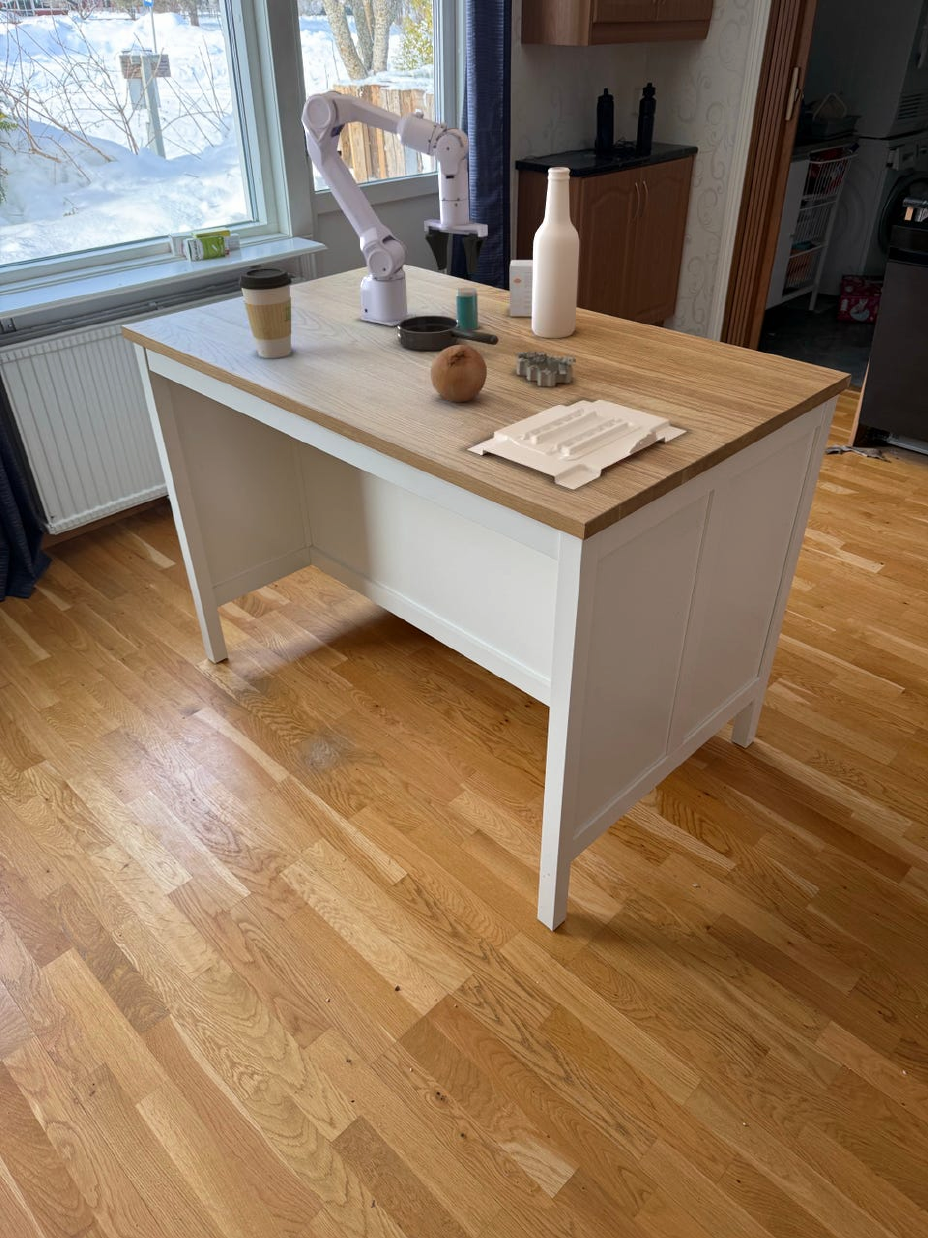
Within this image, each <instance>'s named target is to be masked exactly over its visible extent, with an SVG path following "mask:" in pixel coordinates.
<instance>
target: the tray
mask: <svg viewBox="0 0 928 1238" xmlns="http://www.w3.org/2000/svg"><path fill="white" fill-rule="evenodd" d="M684 433H687V430H684V429H681V428H678V427H674V426H671V425H670V419H667V418H665V417H661V416H657V415H654V414H651V413H648V412H644V411H641V410H638V409H634V408H630V407H627V406H623V405H620V404H617V403H614V402H611V401H608V400H604V399H598V400H596V401H595V400H594V401H593V402H591V401H588V400H584V399H583V400H580V401H577V402H575V403H573V404H571V405H568V406H566V405H562V404H558V405H555V406H553V407H549V408H548V409H545V410H543V411H541V412H539V413H536V414H533V415H530V416H528V417H526V418H524V419H521V420H518V421H517V422H514V423H512V424H509V425H507V426H505V427H502V428H500V429H498V430H496V431H495V430H494V432H493V437H492V438H490V439H488V440H485V441H483V442H481V443H478V444H476V445H474V446H471V447H469V448H467V449H466V450H467V451H470V452H472V453H475V454H477V455H480V456H483V455H485V454H488V453H491V454H493V455H496V456H499V457H503V459H504V458H505V459H506V460H509V461H512V462H515V463H518V464H520V465H523V466H526V467H527V468H528V467H529V468H531V469H534V470H536V471H539V472H542V473H544V474H547V475H550V476H552V477H554V483H555V484H557V485H559V486H562V487H565V488H567V489H570V490H576V489H578V488H580V487H582V486H583V485H586V484H587V483H589V482H591V481H593V480H595V479H598V478H599V477H600V476H601V473H602V470H603V469H605V468H607V467H609V466H611V465H613V464H616V462H619V461H620V460H623V459H624V458H626V457H628V456H631V455H632V454H634V453H636V452H639V451H640V450H643V449H644V448H646V447H648V446H651V445H652V444H654V443H656V442H658V441H660V442H664V443H667V442H670V441H672V440H673V439H675V438H677V437H679V436H681V435H683V434H684Z"/></svg>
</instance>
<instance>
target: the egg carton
mask: <svg viewBox="0 0 928 1238" xmlns="http://www.w3.org/2000/svg"><path fill="white" fill-rule="evenodd" d="M513 354H514V356H515V358H516V359H517V360H516V375H518V376H526V381H530V382H533V381H534V382H535V381H536V382H537V385H538V386H539V387H550V388H551V387H555V386H556V384H558V383H561V384H562V383H563V384H569V383H571V382H572V381H571V380H572V378H573V377H572V376H573V365H574V364H575V363H577V359H576V358H574V357H571V356H566V357H563V356H560V357H559V356H557V355H552V354H547V352H545V351H543V350H542V351H540V352H539V353H537V351H536V350H534V351H532V352H531V351H528V352H524V351H522V352H521V353H517V352H513Z"/></svg>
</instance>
